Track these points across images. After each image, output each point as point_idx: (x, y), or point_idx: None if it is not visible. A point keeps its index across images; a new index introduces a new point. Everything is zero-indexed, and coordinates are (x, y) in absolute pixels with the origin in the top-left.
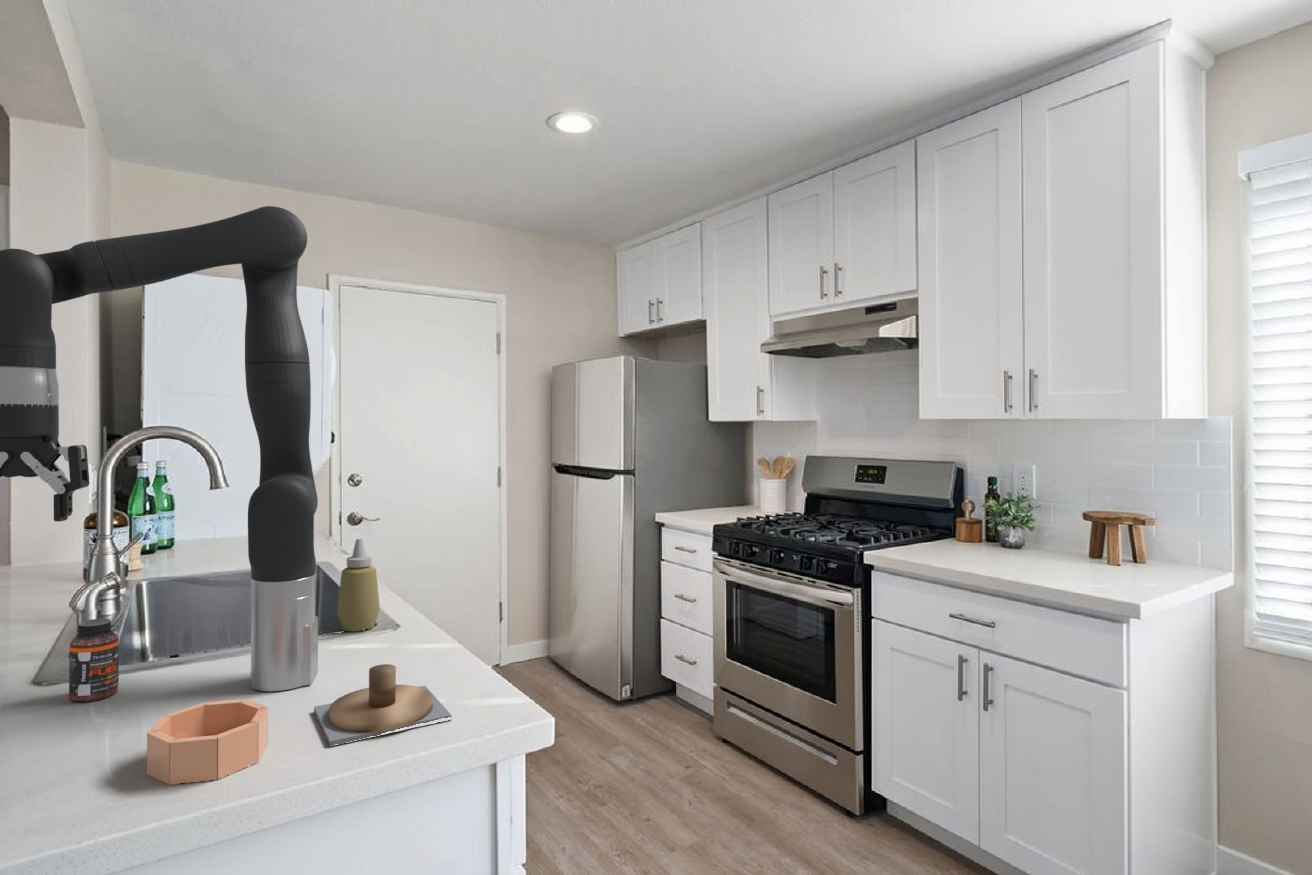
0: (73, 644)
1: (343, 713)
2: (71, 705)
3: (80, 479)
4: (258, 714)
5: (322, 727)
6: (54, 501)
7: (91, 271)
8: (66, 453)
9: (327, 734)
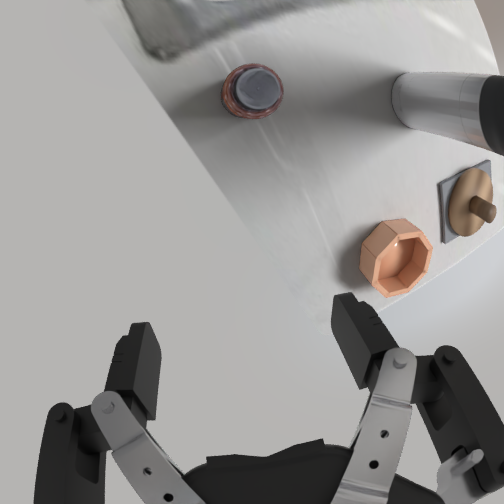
0: (238, 113)
1: (457, 218)
2: (235, 121)
3: (444, 402)
4: (427, 259)
5: (443, 217)
6: (353, 371)
7: None
8: (449, 489)
9: (445, 234)
